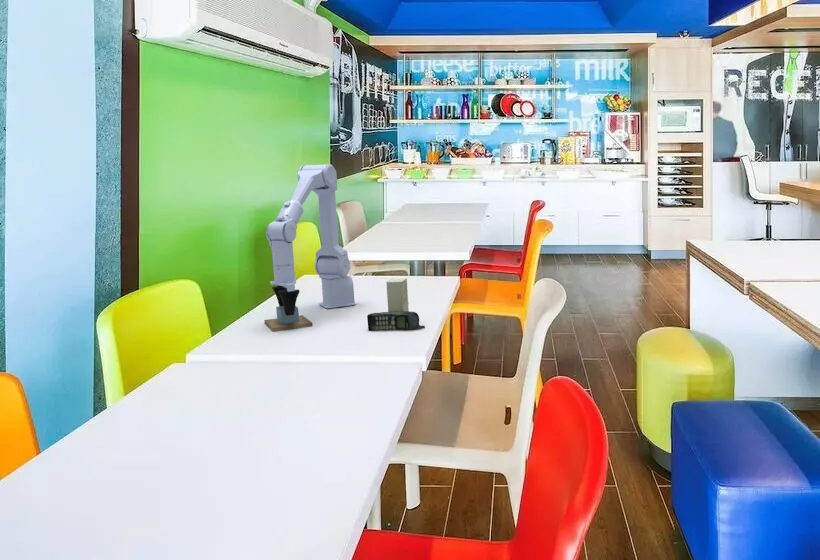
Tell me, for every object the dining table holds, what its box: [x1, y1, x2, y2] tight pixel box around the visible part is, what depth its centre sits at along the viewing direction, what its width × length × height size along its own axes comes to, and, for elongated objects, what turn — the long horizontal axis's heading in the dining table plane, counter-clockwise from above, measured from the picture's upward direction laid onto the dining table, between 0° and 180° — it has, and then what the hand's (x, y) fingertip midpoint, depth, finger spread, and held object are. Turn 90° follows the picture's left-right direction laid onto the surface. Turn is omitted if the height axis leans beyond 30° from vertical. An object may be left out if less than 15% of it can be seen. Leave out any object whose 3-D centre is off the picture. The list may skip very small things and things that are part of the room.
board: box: [264, 314, 313, 332], centre depth 206 cm, size 11×11×4 cm
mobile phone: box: [366, 310, 426, 332], centre depth 195 cm, size 5×3×15 cm
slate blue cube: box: [276, 305, 300, 324], centre depth 206 cm, size 5×5×4 cm
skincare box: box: [386, 277, 410, 312], centre depth 201 cm, size 6×4×12 cm
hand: (287, 312), depth 206 cm, fingers open, 6 cm apart
